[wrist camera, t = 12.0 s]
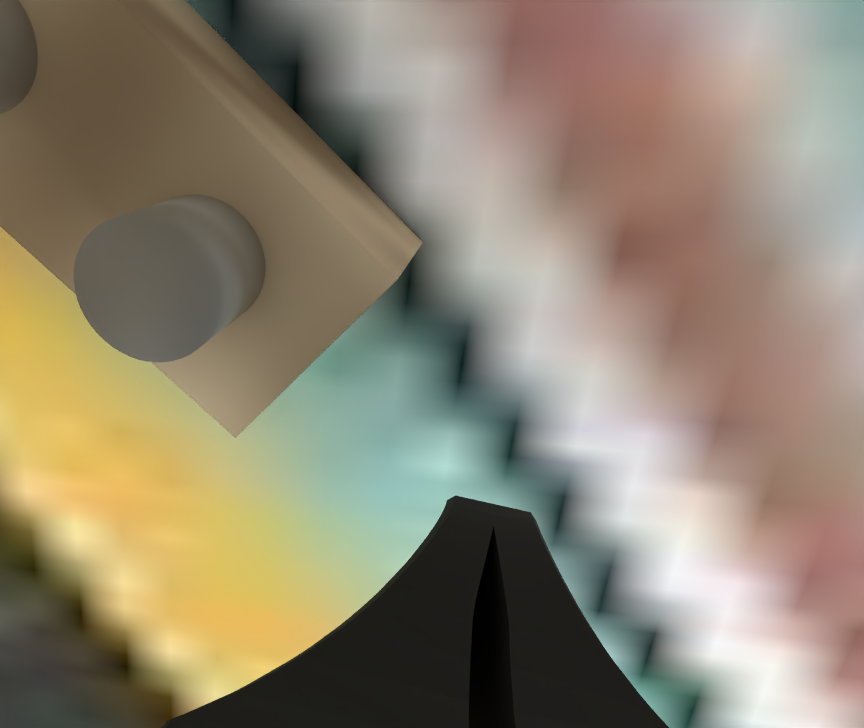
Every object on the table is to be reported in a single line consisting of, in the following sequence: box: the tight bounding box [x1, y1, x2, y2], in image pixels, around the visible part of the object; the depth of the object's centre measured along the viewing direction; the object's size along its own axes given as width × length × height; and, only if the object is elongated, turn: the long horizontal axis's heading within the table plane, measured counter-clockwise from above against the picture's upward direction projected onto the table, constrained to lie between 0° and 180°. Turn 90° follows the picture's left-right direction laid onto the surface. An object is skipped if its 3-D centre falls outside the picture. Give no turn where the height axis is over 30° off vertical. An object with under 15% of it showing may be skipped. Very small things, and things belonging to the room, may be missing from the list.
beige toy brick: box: [0, 0, 423, 438], centre depth 12 cm, size 9×4×5 cm, turn 45°
